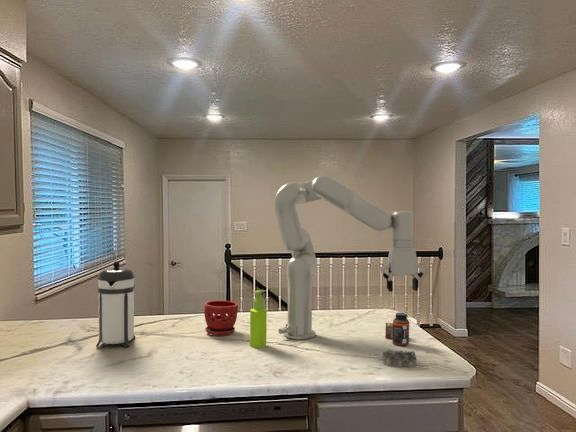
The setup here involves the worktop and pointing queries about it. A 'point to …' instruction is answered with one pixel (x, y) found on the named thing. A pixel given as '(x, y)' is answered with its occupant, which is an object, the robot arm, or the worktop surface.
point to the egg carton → (399, 358)
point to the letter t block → (389, 331)
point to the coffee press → (116, 306)
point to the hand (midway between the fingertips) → (402, 290)
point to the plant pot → (220, 317)
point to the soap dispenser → (258, 322)
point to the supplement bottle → (401, 330)
